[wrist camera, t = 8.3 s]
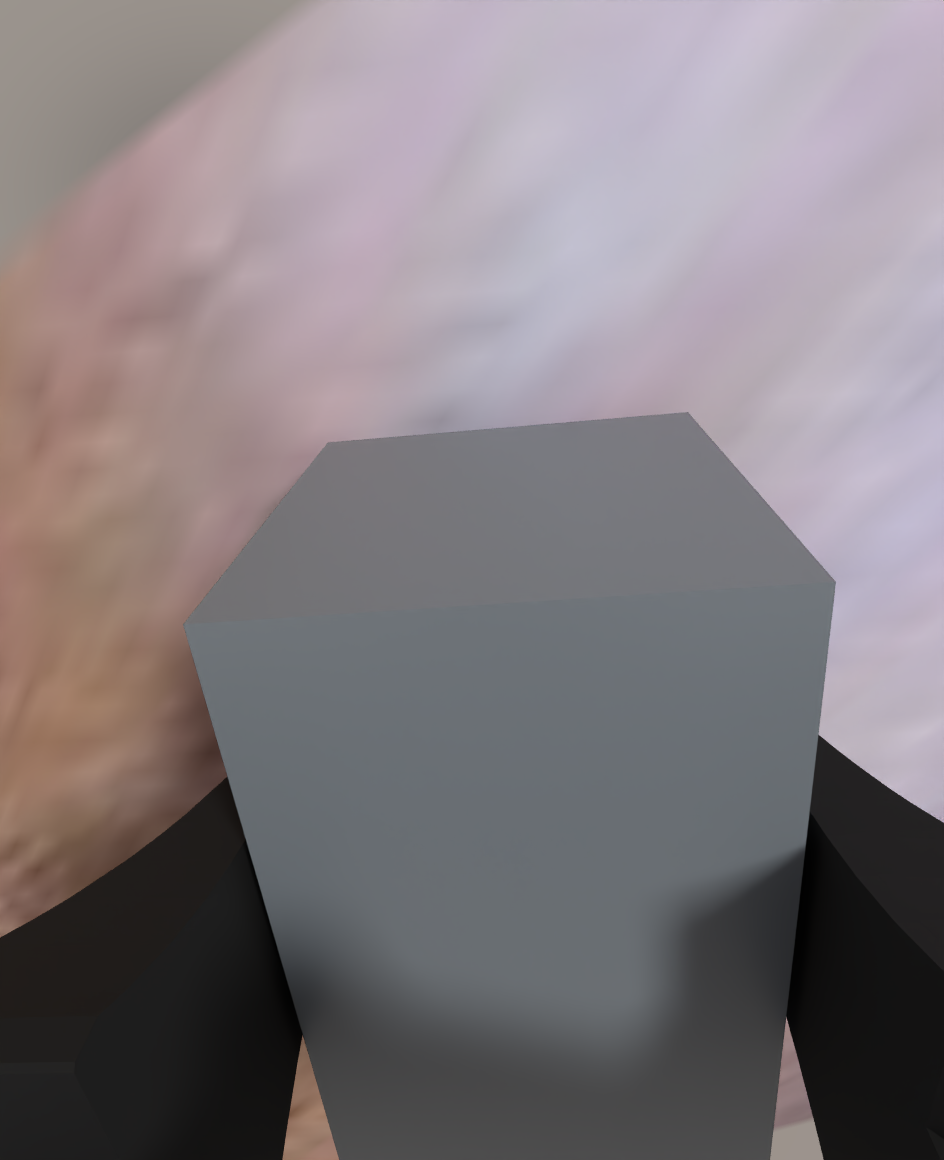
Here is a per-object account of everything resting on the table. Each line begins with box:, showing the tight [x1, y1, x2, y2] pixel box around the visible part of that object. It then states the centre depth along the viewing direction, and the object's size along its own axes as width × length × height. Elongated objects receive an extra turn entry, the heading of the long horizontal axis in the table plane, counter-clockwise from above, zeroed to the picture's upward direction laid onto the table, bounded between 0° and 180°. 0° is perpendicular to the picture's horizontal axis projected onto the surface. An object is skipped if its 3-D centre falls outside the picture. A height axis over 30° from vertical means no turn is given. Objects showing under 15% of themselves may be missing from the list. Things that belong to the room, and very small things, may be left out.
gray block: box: [183, 412, 836, 1160], centre depth 12 cm, size 6×9×6 cm, turn 5°
